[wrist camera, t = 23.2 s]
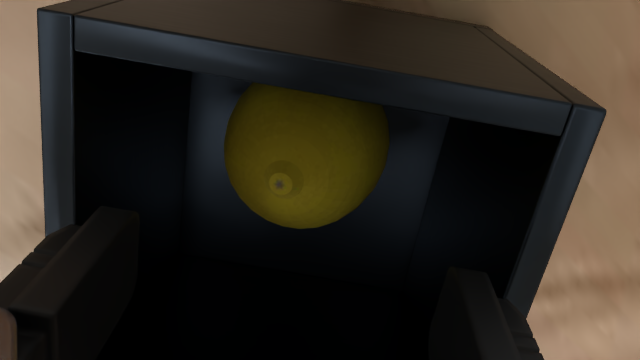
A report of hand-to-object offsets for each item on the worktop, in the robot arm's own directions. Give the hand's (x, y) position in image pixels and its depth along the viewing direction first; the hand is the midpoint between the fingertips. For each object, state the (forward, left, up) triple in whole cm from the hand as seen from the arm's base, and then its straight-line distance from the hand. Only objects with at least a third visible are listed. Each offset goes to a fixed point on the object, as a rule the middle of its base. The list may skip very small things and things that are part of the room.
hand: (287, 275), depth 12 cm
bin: (+3, 0, -14) cm, 14 cm away
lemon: (0, 0, -12) cm, 12 cm away
